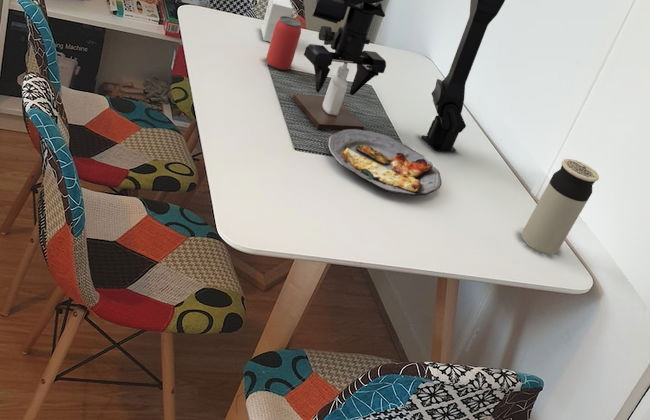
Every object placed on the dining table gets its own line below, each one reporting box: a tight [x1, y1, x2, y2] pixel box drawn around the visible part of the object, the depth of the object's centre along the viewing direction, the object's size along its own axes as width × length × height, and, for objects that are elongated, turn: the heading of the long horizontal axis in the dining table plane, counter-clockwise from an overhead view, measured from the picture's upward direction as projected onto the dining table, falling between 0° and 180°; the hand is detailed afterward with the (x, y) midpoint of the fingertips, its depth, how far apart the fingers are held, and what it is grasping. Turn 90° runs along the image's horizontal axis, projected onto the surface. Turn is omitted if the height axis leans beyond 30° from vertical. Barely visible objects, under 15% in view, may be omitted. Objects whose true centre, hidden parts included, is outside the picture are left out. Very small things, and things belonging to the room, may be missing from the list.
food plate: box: [328, 129, 443, 197], centre depth 155 cm, size 25×23×4 cm
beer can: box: [265, 16, 302, 71], centre depth 184 cm, size 7×7×12 cm
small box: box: [260, 0, 294, 43], centre depth 200 cm, size 8×6×10 cm
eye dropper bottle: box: [322, 62, 350, 116], centre depth 167 cm, size 4×6×12 cm
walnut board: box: [292, 93, 365, 131], centre depth 171 cm, size 14×12×1 cm
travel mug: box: [520, 158, 600, 255], centre depth 145 cm, size 8×8×18 cm
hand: (334, 93), depth 168 cm, fingers open, 9 cm apart
